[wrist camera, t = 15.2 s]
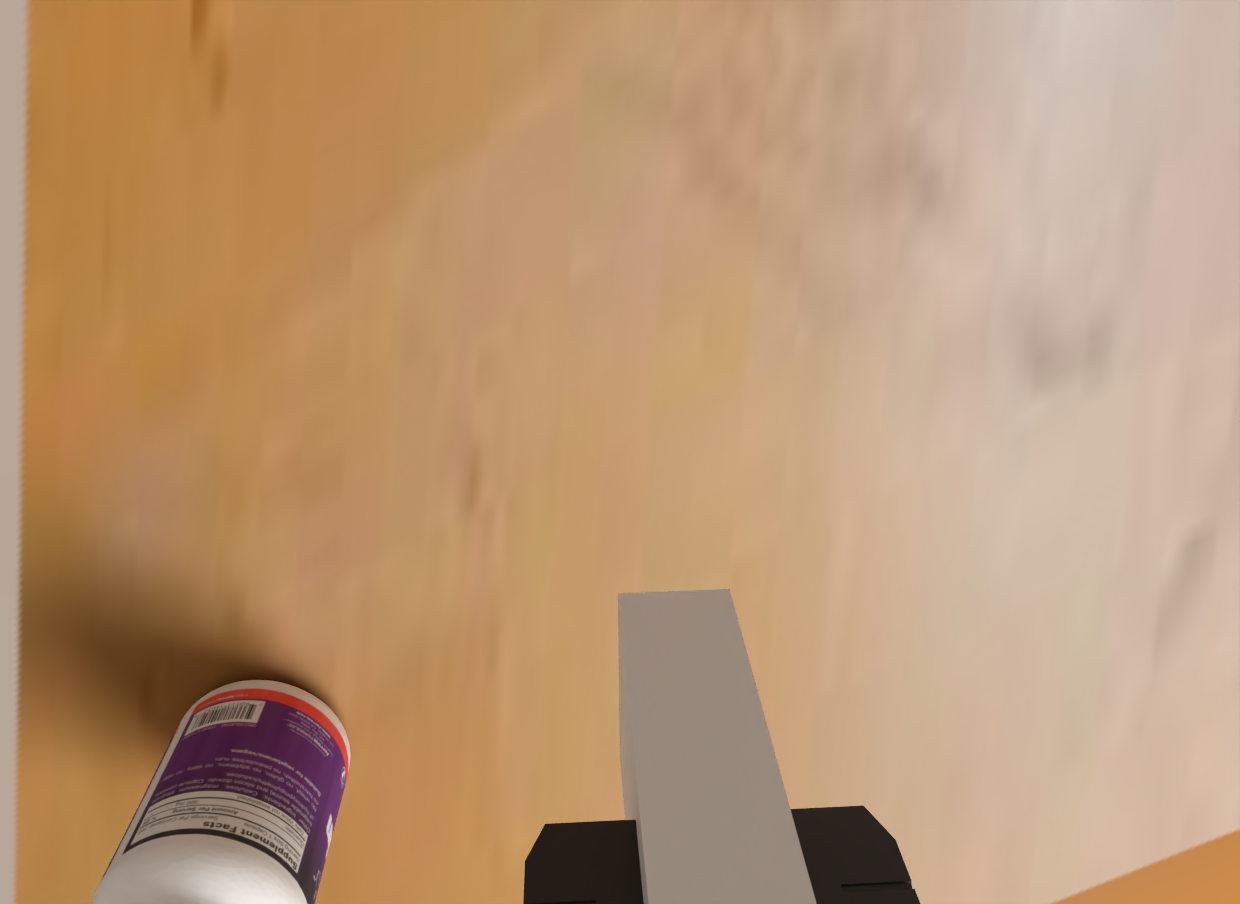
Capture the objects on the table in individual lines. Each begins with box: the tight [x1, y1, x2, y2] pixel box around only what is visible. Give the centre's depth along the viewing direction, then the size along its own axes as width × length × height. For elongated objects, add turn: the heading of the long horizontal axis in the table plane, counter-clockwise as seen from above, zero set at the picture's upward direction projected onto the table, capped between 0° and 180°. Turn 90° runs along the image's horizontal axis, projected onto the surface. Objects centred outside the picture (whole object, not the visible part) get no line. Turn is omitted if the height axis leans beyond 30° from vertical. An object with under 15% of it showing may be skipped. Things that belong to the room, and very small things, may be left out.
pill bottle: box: [92, 680, 350, 904], centre depth 44 cm, size 8×8×14 cm
